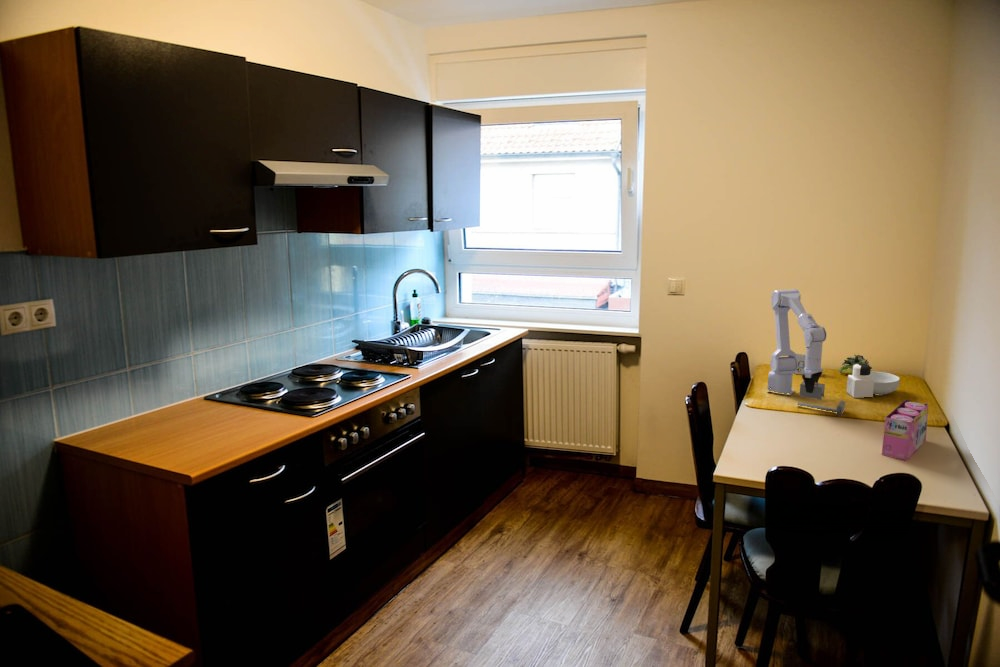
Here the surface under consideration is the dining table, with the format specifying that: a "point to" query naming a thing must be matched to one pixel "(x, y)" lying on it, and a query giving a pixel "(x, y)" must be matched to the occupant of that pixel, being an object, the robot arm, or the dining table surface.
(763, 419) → the dining table surface
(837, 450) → the dining table surface
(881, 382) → the cereal bowl
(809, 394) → the block
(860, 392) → the container
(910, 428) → the gum box
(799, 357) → the electrical switch
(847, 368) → the potted plant
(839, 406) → the rail
